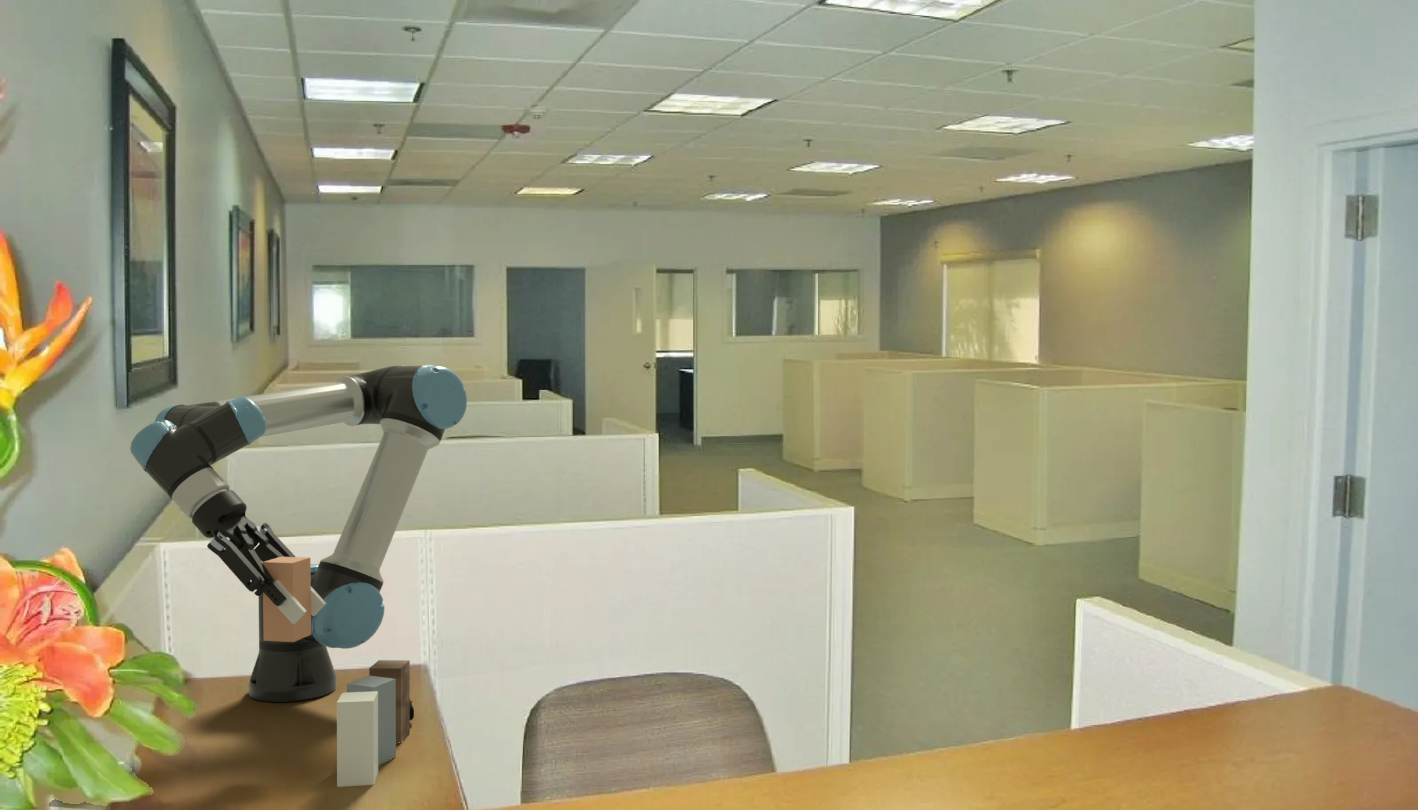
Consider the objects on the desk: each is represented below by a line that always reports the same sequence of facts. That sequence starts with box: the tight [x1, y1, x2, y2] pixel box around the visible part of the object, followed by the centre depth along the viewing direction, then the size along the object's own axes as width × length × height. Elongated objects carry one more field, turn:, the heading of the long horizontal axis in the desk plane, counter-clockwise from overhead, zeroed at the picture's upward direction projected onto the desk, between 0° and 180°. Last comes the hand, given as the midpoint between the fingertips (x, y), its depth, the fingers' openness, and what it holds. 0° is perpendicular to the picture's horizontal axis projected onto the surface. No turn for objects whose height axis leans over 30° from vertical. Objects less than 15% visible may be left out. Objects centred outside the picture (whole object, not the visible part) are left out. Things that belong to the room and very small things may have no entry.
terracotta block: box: [262, 556, 311, 642], centre depth 172 cm, size 5×5×12 cm
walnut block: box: [368, 659, 411, 744], centre depth 179 cm, size 5×5×12 cm
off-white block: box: [336, 691, 379, 788], centre depth 161 cm, size 5×5×12 cm
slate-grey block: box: [346, 675, 397, 767], centre depth 169 cm, size 5×5×12 cm
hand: (309, 613), depth 171 cm, fingers closed on terracotta block, 5 cm apart
